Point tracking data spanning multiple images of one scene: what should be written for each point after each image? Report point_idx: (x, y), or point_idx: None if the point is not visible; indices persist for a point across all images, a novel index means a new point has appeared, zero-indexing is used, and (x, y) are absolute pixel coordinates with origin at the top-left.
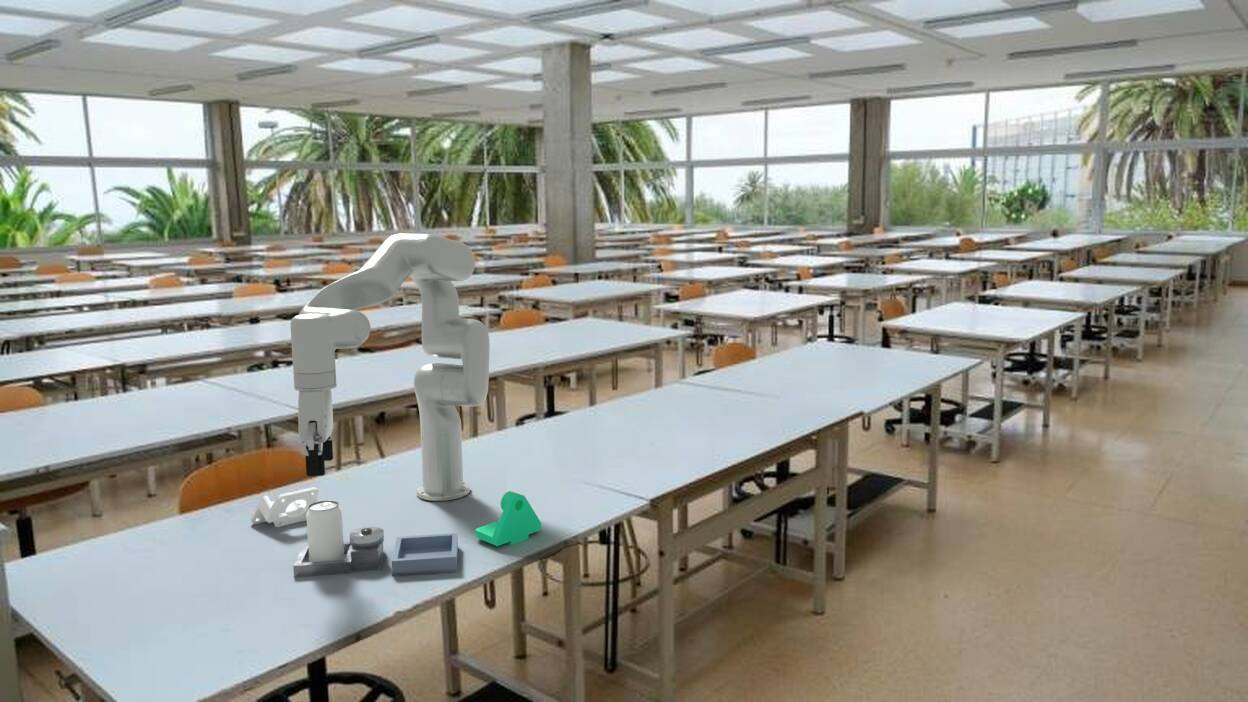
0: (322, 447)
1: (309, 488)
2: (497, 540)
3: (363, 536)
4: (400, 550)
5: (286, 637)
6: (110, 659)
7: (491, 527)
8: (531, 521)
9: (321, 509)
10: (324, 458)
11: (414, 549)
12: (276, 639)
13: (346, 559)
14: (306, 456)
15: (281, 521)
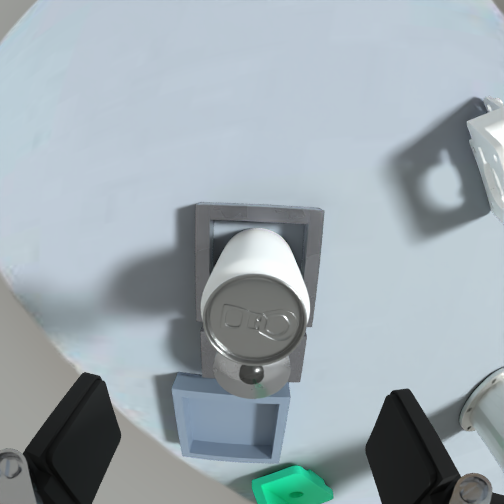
0: (401, 476)
1: None
2: (252, 486)
3: (230, 366)
4: None
5: (14, 232)
6: (19, 38)
7: (297, 484)
8: None
9: (221, 318)
10: (378, 432)
11: (273, 405)
12: (11, 220)
13: None
14: (31, 450)
15: (476, 151)
